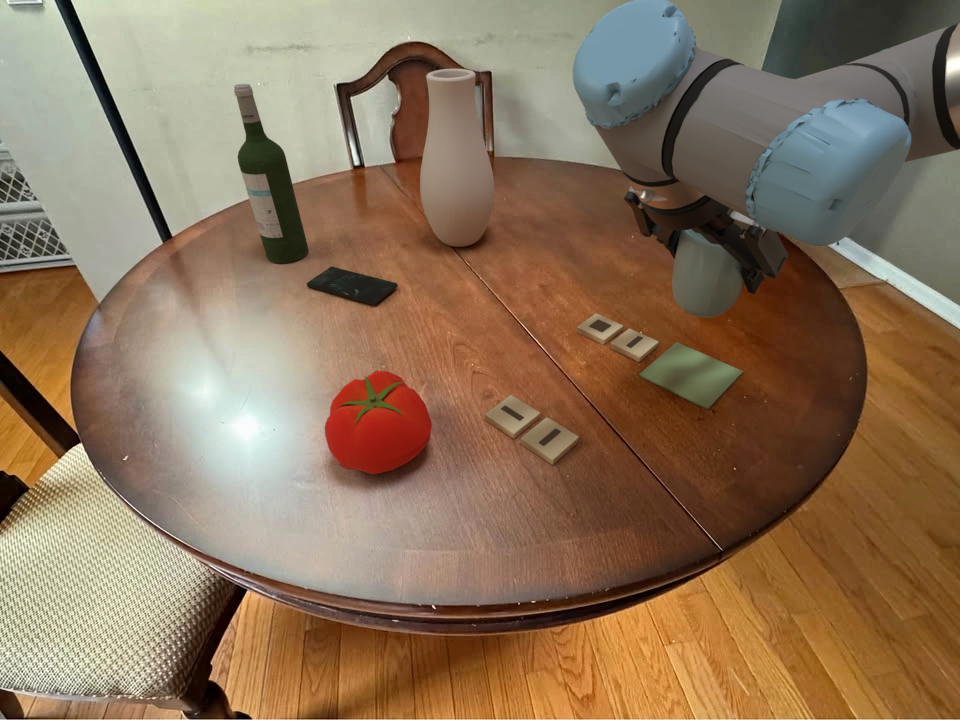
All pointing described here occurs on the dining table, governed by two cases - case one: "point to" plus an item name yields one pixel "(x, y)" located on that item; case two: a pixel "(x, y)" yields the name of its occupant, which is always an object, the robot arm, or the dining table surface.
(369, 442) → the tomato
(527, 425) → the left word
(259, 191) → the wine bottle
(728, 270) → the cup
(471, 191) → the vase
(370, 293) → the smartphone
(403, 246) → the dining table surface
